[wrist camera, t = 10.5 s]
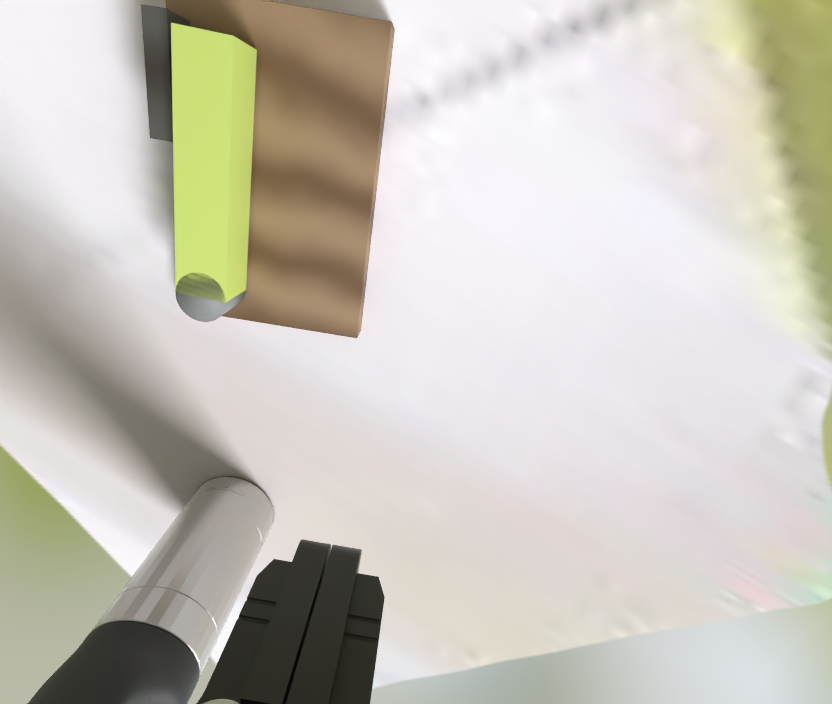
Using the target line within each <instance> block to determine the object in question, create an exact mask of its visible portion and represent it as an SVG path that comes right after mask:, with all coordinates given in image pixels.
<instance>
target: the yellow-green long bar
mask: <svg viewBox="0 0 832 704" xmlns="http://www.w3.org/2000/svg"><path fill="white" fill-rule="evenodd" d="M171 53H172V111H173V170H174V229H175V288H176V299H177V302H178V304H179V306H180V308H181V309H182V310H183V311H184V312H185V313H186V314H187V315H188V316H189V317H191V318H193V319H195V320H198V321H202V322H209V321H213V320H216V319H217V318H219V317H220V316H222V315H223V314H225V313H226V312H228V311H229V310H230V309H232V308H233V307H235V306H236V305H238V304H239V303H240V302H241V301H242V300H243V299H244V297H245V294H246V281H247V258H248V236H249V214H250V192H251V170H252V148H253V125H254V103H255V81H256V59H257V50H256V49H255V48H253V47H251V46H250V45H248V44H246V43H245V42H243V41H241V40H240V39H238V38H236V37H235V36H233V35H228V34H223V33H218V32H214V31H209V30H204V29H199V28H194V27H190V26H185V25H180V24H175V23H171Z"/></svg>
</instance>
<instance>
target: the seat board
mask: <svg viewBox="0 0 832 704" xmlns="http://www.w3.org/2000/svg"><path fill="white" fill-rule="evenodd" d="M141 9H142V24H143V39H144V54H145V69H146V84H147V99H148V114H149V129H150V138H153V139H160V140H166V141H172V142H173V111H172V53H171V23H175V24H180V25H185V26H190V27H194V28H199V29H204V30H209V31H214V32H218V33H223V34H228V35H233V36H235V37H236V38H238V39H240V40H241V41H243V42H245V43H246V44H248V45H250V46H251V47H253V48H255V49H256V50H257V59H256V81H255V103H254V125H253V148H252V170H251V192H250V214H249V236H248V258H247V281H246V294H245V297H244V299H243V300H242V301H241V302H240V303H239V304H238V305H236V306H235V307H233V308H232V309H230V310H229V311H228V312H226V313H225V314H223V315H222V316H225V317H231V318H237V319H243V320H249V321H255V322H261V323H267V324H274V325H280V326H286V327H292V328H298V329H304V330H310V331H316V332H323V333H329V334H335V335H341V336H347V337H353V338H357V337H358V335H359V333H360V331H361V323H362V314H363V305H364V296H365V287H366V278H367V270H368V261H369V252H370V243H371V234H372V225H373V216H374V207H375V199H376V190H377V181H378V172H379V163H380V154H381V145H382V136H383V127H384V119H385V110H386V101H387V92H388V83H389V74H390V65H391V56H392V48H393V39H394V30H395V29H394V27H393V24H392V22H390V21H384V20H378V19H372V18H366V17H360V16H355V15H349V14H343V13H337V12H331V11H325V10H319V9H313V8H307V7H301V6H295V5H289V4H283V3H277V2H271V1H265V0H166V9H165V8H159V7H153V6H147V5H141Z"/></svg>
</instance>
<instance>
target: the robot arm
mask: <svg viewBox="0 0 832 704" xmlns="http://www.w3.org/2000/svg"><path fill="white" fill-rule="evenodd" d="M273 521H274V511H273V506H272V504H271V502H270V500H269V499H268V497H267V496H266V495H265V493H264V492H262V491H261V490H260V489H259V488H258V487H256V486H255V485H253V484H252V483H250V482H247V481H245V480H243V479H239V478H234V477H218V478H214V479H211V480H209V481H207V482H205V483H204V484H203V485H202V486H201V487H200V488H199V489H198V490H197V491H196V493H195V494H194V495H193V497H192V498H191V499H190V501H189V502H188V503H187V505H186V506H185V507H184V509H183V510H182V511H181V512H180V514H179V515H178V516H177V518H176V519H175V520H174V522H173V523H172V524H171V526H170V527H169V528H168V530H167V531H166V532H165V534H164V535H163V536H162V538H161V539H160V540H159V542H158V543H157V544H156V546H155V547H154V548H153V550H152V551H151V552H150V554H149V555H148V556H147V558H146V559H145V560H144V562H143V563H142V564H141V566H140V567H139V568H138V570H137V571H136V572H135V574H134V575H133V576H132V578H131V579H130V580H129V582H128V583H127V584H126V586H125V587H124V588H123V590H122V591H121V592H120V594H119V595H118V596H117V598H116V599H115V600H114V602H113V603H112V605H111V606H110V607H109V609H108V610H107V611H106V613H105V614H104V615H103V617H102V618H101V619H100V621H99V622H98V623H97V625H96V626H95V627H94V629H93V630H92V631H91V633H90V634H89V635H88V636H87V637H86V639H85V640H84V641H83V643H82V644H81V645H80V646H79V648H78V649H77V650H76V651H75V652H74V654H73V655H71V657H70V658H69V659H68V660H67V661H66V662H65V663H64V664H63V665H62V666H61V667H60V668H59V669H58V670H57V671H56V672H55V673H54V674H53V675H52V676H51V677H50V678H49V679H48V680H47V681H46V682H45V683H44V685H43V686H42V687H41V688H40V689H39V690H38V692H37V693H36V694H35V695H34V697H33V698H32V699H31V700H30V702H29V703H28V704H187V703H188V701H189V699H190V697H191V695H192V693H193V690H194V688H195V686H196V684H197V682H198V679H199V677H200V675H201V673H202V670H203V669H204V667H205V665H206V662H207V660H208V658H209V656H210V654H211V652H212V650H213V648H214V646H215V644H216V641H217V639H218V637H219V635H220V633H221V631H222V628H223V626H224V624H225V622H226V620H227V618H228V616H229V614H230V612H231V610H232V608H233V605H234V603H235V601H236V599H237V597H238V595H239V593H240V591H241V589H242V587H243V585H244V582H245V580H246V578H247V576H248V574H249V572H250V570H251V568H252V566H253V564H254V562H255V559H256V557H257V555H258V553H259V551H260V549H261V547H262V545H263V543H264V541H265V539H266V537H267V535H268V533H269V530H270V528H271V526H272V523H273ZM361 551H362V550H360V549H355V548H349V547H343V546H337V545H333V546H332V548H331V544H325V543H319V542H313V541H308V540H301V541H300V543H299V545H298V548H297V551H296V553H295V556H294V559H293V561H292V562H288V561H282V560H276V559H274V560H273V561H272V562H271V563H270V564H269V565H268V566H267V567H266V568H264V569H263V570H262V571H261V572H260V573H259V574H258V575H257V577H256V579H255V582H254V584H253V586H252V588H251V590H250V593H249V595H248V597H247V601H245V604H244V606H243V608H242V610H241V612H240V615H239V618H238V620H237V621H236V624H235V626H234V628H233V630H232V632H231V635H230V637H229V639H228V641H227V643H226V646H225V648H224V650H223V652H222V654H221V657H220V659H219V661H218V663H217V665H216V668H215V670H214V672H213V674H212V676H211V679H210V681H209V683H208V685H207V688H206V690H205V691H204V693H203V695H202V697H201V698H200V700H199V701H198V703H197V704H370V699H371V691H372V684H373V677H374V670H375V663H376V655H377V648H378V640H379V633H380V626H381V619H382V612H383V604H384V594H383V591H382V588H381V584H380V581H379V577H375V576H370V575H364V574H358V570H359V564H360V558H361Z"/></svg>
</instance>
